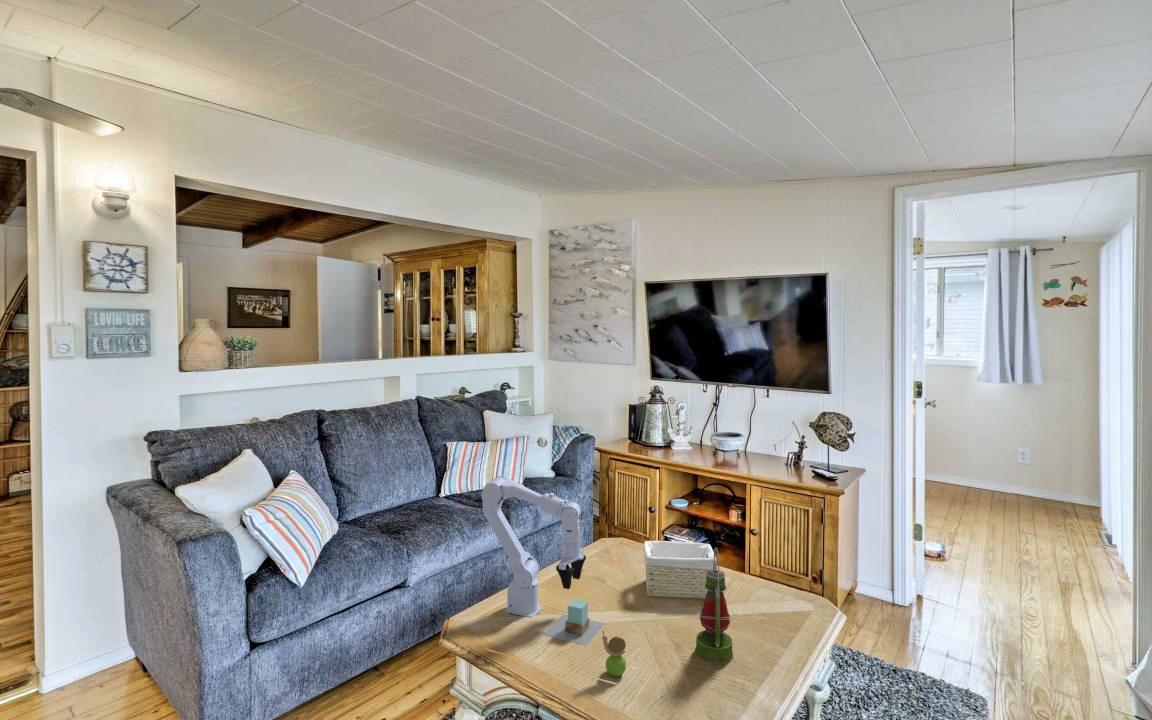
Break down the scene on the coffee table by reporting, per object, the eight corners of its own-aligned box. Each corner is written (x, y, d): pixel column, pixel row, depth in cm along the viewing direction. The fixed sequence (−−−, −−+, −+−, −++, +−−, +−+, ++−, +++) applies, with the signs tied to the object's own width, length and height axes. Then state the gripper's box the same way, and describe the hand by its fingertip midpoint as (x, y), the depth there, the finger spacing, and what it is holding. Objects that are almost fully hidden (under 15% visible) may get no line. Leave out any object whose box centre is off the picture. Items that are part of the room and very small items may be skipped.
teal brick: (567, 621, 178) (568, 605, 178) (574, 615, 182) (574, 599, 182) (581, 625, 177) (581, 608, 176) (587, 618, 181) (587, 602, 180)
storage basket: (709, 581, 215) (709, 541, 214) (716, 602, 199) (717, 559, 198) (642, 579, 217) (643, 539, 216) (644, 599, 201) (645, 556, 200)
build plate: (543, 636, 177) (543, 635, 177) (562, 615, 189) (563, 614, 189) (586, 646, 171) (586, 645, 171) (604, 624, 184) (604, 623, 184)
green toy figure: (600, 669, 160) (600, 626, 159) (624, 668, 160) (624, 625, 160) (603, 681, 155) (603, 636, 154) (627, 680, 155) (628, 635, 154)
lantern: (692, 639, 175) (694, 539, 174) (729, 641, 174) (731, 541, 173) (697, 666, 162) (699, 558, 160) (737, 668, 161) (740, 560, 159)
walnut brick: (565, 632, 178) (565, 622, 178) (572, 623, 183) (572, 614, 183) (582, 636, 176) (582, 626, 176) (589, 627, 181) (589, 617, 181)
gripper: (573, 551, 180) (574, 595, 180) (591, 535, 193) (592, 576, 194) (552, 547, 183) (553, 591, 183) (571, 532, 196) (572, 573, 197)
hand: (571, 583), depth 189 cm, fingers open, 7 cm apart
